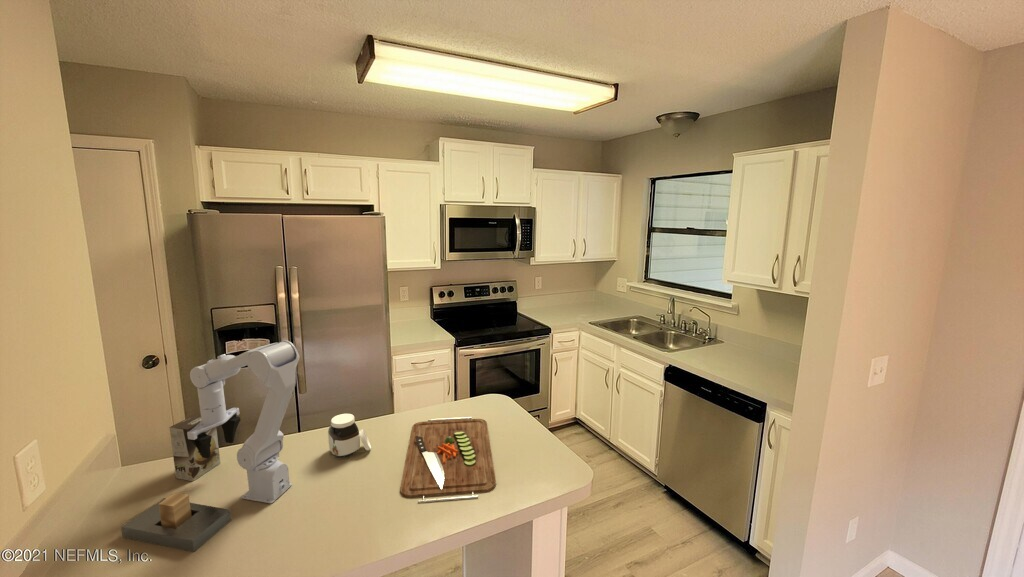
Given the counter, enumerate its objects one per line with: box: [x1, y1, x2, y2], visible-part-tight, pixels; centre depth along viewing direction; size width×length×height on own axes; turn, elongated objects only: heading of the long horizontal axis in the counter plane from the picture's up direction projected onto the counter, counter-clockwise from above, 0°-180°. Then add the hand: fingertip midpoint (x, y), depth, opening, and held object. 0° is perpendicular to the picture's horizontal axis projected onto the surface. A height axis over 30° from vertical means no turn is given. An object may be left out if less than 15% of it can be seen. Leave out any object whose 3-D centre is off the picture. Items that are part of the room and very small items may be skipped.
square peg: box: [159, 492, 192, 529], centre depth 100 cm, size 4×4×8 cm
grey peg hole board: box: [120, 497, 232, 553], centre depth 100 cm, size 20×10×3 cm, turn 79°
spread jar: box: [327, 413, 372, 459], centre depth 133 cm, size 12×11×12 cm
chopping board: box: [399, 416, 497, 504], centre depth 133 cm, size 45×27×3 cm, turn 8°
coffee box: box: [169, 412, 221, 482], centre depth 121 cm, size 9×6×16 cm
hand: (218, 449), depth 117 cm, fingers open, 7 cm apart
